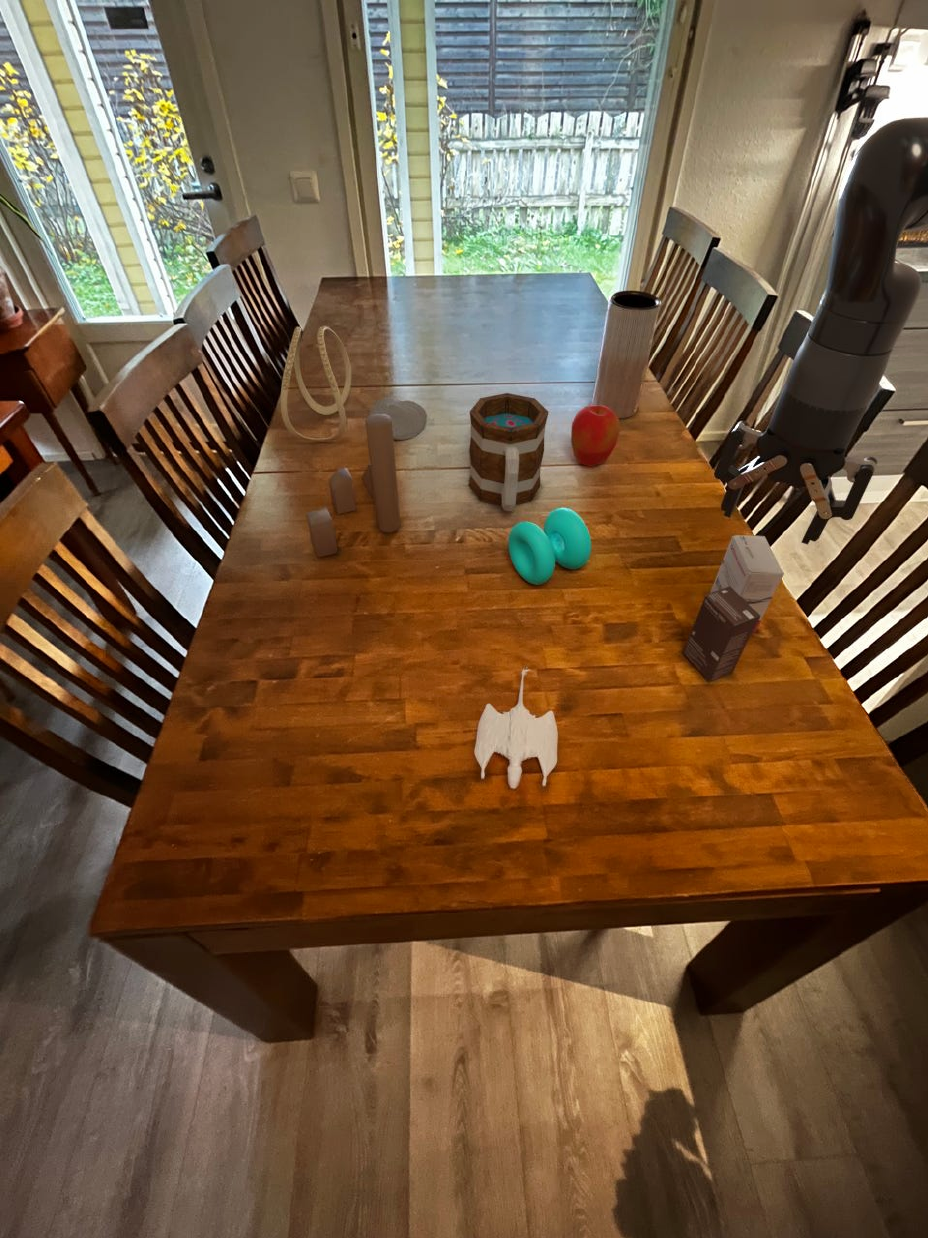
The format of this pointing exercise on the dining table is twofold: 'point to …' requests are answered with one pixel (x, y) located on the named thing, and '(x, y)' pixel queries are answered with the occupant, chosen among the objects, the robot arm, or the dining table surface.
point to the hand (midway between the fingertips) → (766, 526)
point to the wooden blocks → (376, 479)
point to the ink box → (750, 571)
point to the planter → (625, 350)
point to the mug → (506, 449)
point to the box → (720, 633)
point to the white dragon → (517, 738)
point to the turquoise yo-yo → (549, 545)
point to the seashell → (402, 416)
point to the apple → (594, 434)
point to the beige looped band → (294, 355)
